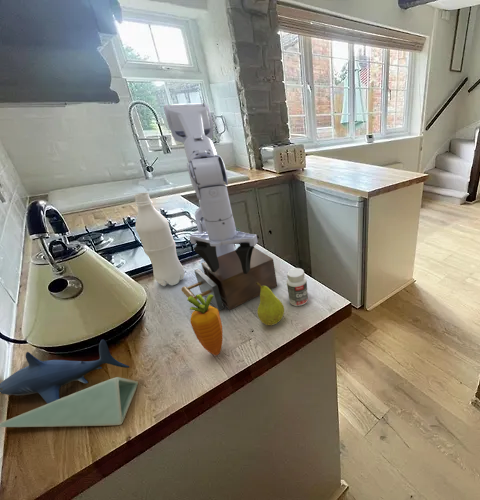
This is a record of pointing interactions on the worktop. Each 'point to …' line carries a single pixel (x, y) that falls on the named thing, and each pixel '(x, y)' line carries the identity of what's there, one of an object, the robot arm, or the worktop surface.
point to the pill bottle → (297, 287)
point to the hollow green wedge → (83, 407)
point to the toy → (53, 374)
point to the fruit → (269, 307)
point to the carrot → (207, 324)
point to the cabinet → (243, 277)
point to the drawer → (207, 288)
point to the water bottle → (157, 242)
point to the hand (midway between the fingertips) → (231, 270)
